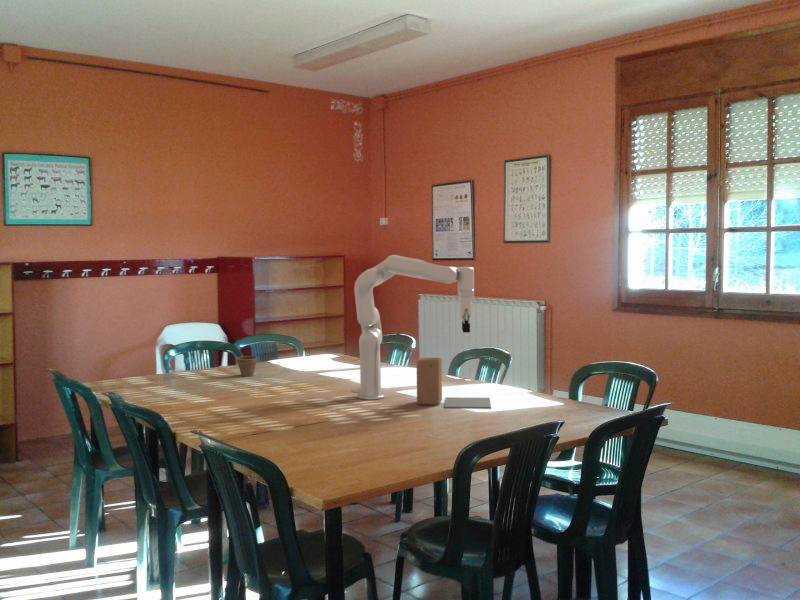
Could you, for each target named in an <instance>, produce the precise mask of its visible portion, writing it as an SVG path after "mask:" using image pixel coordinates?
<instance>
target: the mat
mask: <svg viewBox="0 0 800 600" xmlns="http://www.w3.org/2000/svg"><path fill="white" fill-rule="evenodd" d="M444 400H445V401H444V409H492V405H491V398H490V397H451V396H450V397H445V399H444Z"/></svg>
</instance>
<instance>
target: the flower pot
mask: <svg viewBox="0 0 800 600" xmlns="http://www.w3.org/2000/svg"><path fill="white" fill-rule="evenodd" d="M258 360H259V359H258V356H255V355H245V356H239V357H236V363H237V364H238V368H239V373H240V375H241V377H243V378H244V377H248V378H249V377H253V376H254V375H255V371H256V366H257V363H258Z"/></svg>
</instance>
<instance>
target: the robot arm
mask: <svg viewBox="0 0 800 600" xmlns="http://www.w3.org/2000/svg"><path fill="white" fill-rule="evenodd" d="M396 275H398V276H403V277H409V278H410V277H411V278H415V279H420V280H426V281H433V282H438V283H443V284H452V283H456V282H457V298H459V319H460V320H462V321H461V330H462V332H463V333H471V323H470V319H471V318H472V303H473V302H472V298H475V268H474V267H472V266H452V265H451V266H450V265H449V266H446V265H441V264H436V263H431V262H428V261H425V260H423V259H417V258H413V257H407V256H402V255H397V254H392V255H388V256H387V257H386V259H385V260H382V261H381V262H380V263H378V264H377V265H375V266H373V267H372V268H368V269H366V270H364V272H361V274H359V276H358V277H357V279H356V280H355V282H354V287H353V288H354V299H355V308H356V319H357V322H358V324H359V325H360V327H361V334H360V336H359V340H358V348H359V368H360V369H359V371H360V373H359V374H360V375H359V376H360V386H359V387H358V388H355V387H353V388H352V387H351V389H350V392H351V393H353V394H357V395H356V397H357V399H360V400H379V399H383V398H385V394H384V393H382V381H381V380H382V377H381V375H382V374H381V373H382V371H381V343H382V341H383V331H382V322H381V316H380V312H379V310H378V309H377V307H376V306H375V301H374V300H375V299H374V293H373V292H374V291H373V290H374V288H375V287H378V286H379V285H381V284H383V283H385V282H386V281H387V280H389V279H391V278H393V277H394V276H396Z"/></svg>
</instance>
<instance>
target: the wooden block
mask: <svg viewBox="0 0 800 600" xmlns="http://www.w3.org/2000/svg"><path fill="white" fill-rule="evenodd" d="M442 360H443V359H442V358H441V357H423V356H422V357H419V358H418V359H417V361H416V403H417V405H418V406H419V405H420V406H424V405H425V406H439V405H440V404H441V402H442V400H443V371H442V370H443V368H442V365H443V364H442V363H443V361H442Z"/></svg>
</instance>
